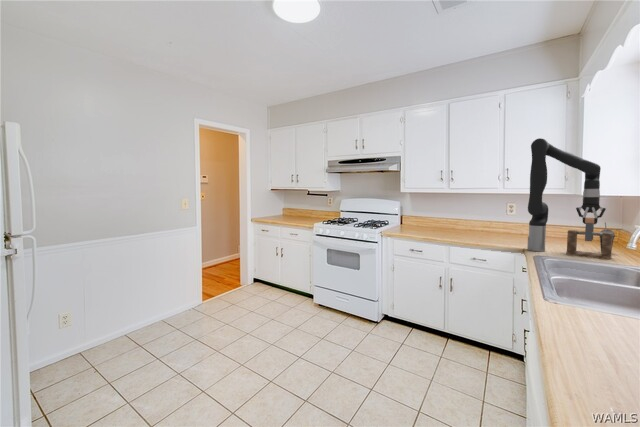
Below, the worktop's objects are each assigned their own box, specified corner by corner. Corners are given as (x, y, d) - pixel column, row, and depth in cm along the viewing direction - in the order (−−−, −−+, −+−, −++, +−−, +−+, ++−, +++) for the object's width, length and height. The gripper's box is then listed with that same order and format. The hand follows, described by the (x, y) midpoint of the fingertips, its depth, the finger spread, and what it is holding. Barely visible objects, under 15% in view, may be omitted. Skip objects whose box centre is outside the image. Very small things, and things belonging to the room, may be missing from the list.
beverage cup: (616, 254, 182) (618, 223, 180) (601, 253, 184) (603, 222, 183) (610, 252, 188) (611, 222, 187) (595, 251, 191) (597, 221, 190)
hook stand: (566, 254, 184) (567, 231, 183) (568, 252, 191) (569, 229, 190) (610, 259, 169) (611, 234, 168) (611, 256, 176) (612, 232, 175)
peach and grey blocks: (583, 240, 178) (584, 218, 177) (585, 239, 184) (586, 217, 183) (592, 241, 175) (593, 218, 174) (594, 239, 181) (595, 217, 180)
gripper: (575, 196, 180) (573, 223, 181) (607, 196, 170) (605, 225, 171) (576, 196, 185) (575, 222, 186) (607, 196, 175) (606, 224, 176)
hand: (589, 223), depth 179 cm, fingers closed on peach and grey blocks, 4 cm apart
